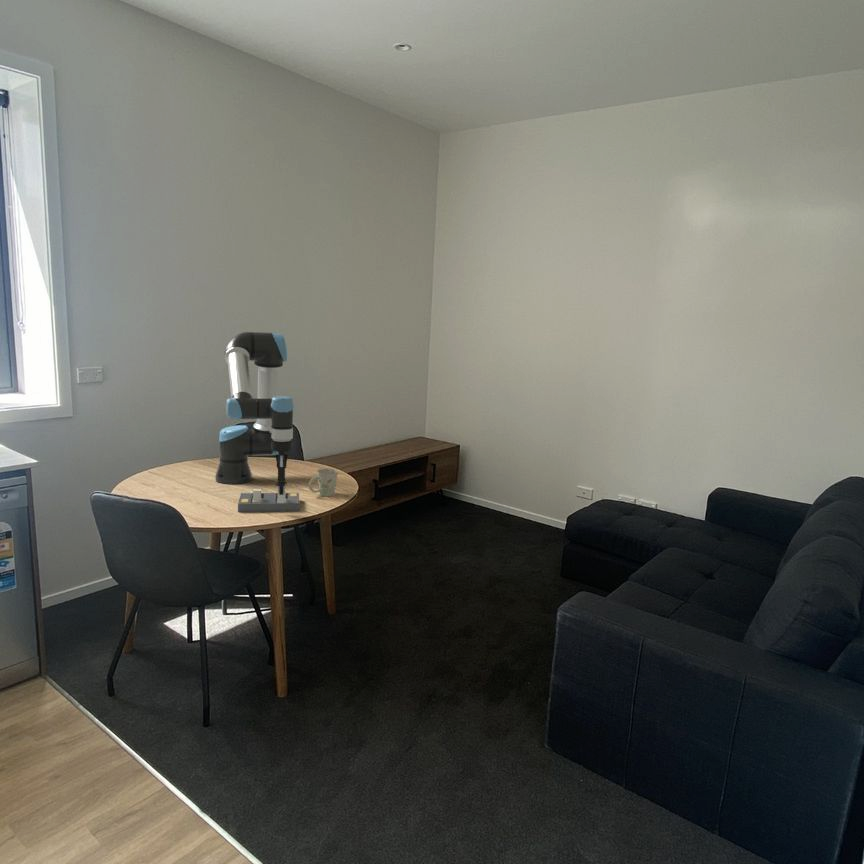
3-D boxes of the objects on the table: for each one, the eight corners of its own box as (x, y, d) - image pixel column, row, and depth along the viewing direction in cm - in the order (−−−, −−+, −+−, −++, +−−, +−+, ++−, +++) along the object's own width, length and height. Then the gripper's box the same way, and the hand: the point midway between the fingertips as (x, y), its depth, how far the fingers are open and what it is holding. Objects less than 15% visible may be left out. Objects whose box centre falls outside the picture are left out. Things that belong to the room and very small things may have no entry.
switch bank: (241, 500, 239) (241, 492, 238) (298, 499, 243) (299, 492, 243) (237, 511, 225) (237, 503, 225) (299, 510, 230) (299, 502, 229)
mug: (341, 495, 253) (341, 471, 251) (314, 500, 244) (315, 476, 242) (329, 490, 259) (330, 467, 257) (303, 495, 250) (304, 471, 248)
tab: (252, 502, 232) (252, 488, 231) (261, 502, 233) (261, 488, 232) (252, 505, 228) (252, 491, 227) (261, 505, 229) (261, 491, 228)
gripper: (271, 435, 227) (271, 497, 231) (270, 443, 214) (270, 507, 218) (292, 436, 228) (291, 496, 233) (292, 443, 216) (291, 507, 220)
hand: (281, 502), depth 225 cm, fingers closed
